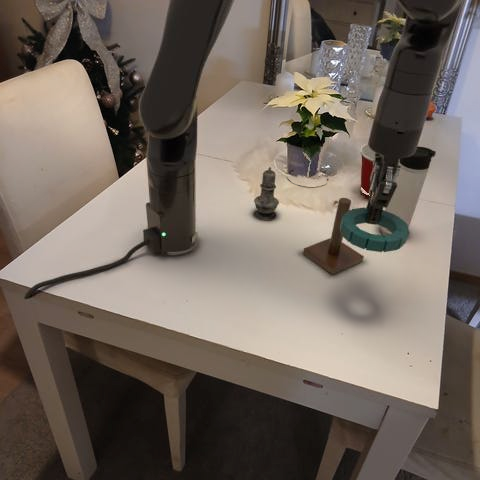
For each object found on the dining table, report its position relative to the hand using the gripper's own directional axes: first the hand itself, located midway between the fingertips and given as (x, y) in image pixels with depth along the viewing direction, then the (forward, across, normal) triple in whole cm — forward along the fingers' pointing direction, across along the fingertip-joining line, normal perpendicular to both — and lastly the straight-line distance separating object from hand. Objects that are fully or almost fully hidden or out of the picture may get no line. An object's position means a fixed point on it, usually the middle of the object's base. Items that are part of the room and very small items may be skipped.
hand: (371, 219), depth 84 cm
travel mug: (+15, -24, +10) cm, 30 cm away
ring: (0, +4, 0) cm, 4 cm away
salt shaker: (+16, -25, -20) cm, 36 cm away
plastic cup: (+15, -42, +6) cm, 45 cm away
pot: (+15, -111, +27) cm, 115 cm away
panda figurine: (+16, -48, -11) cm, 52 cm away
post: (+15, -10, -4) cm, 19 cm away
